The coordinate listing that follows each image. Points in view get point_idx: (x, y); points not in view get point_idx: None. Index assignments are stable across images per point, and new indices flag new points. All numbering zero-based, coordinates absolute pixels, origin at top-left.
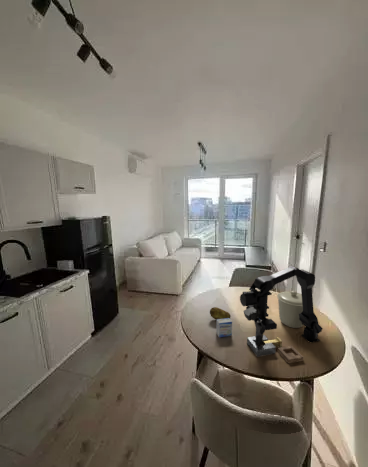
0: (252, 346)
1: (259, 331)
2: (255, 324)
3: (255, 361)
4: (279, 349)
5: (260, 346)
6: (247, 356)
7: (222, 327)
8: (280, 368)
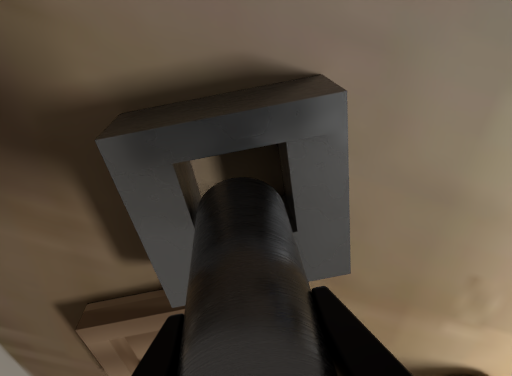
0: (211, 108)
1: (182, 340)
2: (372, 369)
3: (46, 73)
4: (184, 310)
5: (173, 193)
6: (109, 3)
7: None
8: (17, 247)
